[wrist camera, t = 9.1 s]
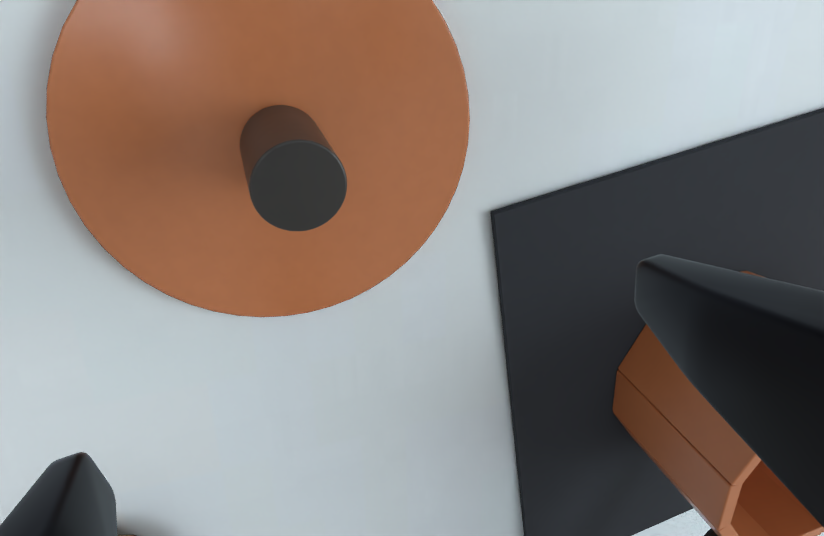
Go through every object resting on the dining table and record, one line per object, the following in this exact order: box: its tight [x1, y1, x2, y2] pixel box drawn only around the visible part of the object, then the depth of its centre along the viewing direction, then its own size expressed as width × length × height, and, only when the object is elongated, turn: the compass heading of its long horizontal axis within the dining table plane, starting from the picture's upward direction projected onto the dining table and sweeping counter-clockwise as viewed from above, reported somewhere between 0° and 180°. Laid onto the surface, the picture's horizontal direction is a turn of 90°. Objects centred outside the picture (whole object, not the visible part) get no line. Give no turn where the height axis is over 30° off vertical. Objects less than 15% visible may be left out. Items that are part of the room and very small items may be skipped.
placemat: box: [491, 108, 824, 536], centre depth 29 cm, size 20×24×1 cm
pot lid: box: [46, 0, 470, 317], centre depth 16 cm, size 12×12×4 cm
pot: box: [613, 271, 824, 536], centre depth 28 cm, size 20×10×7 cm, turn 156°
